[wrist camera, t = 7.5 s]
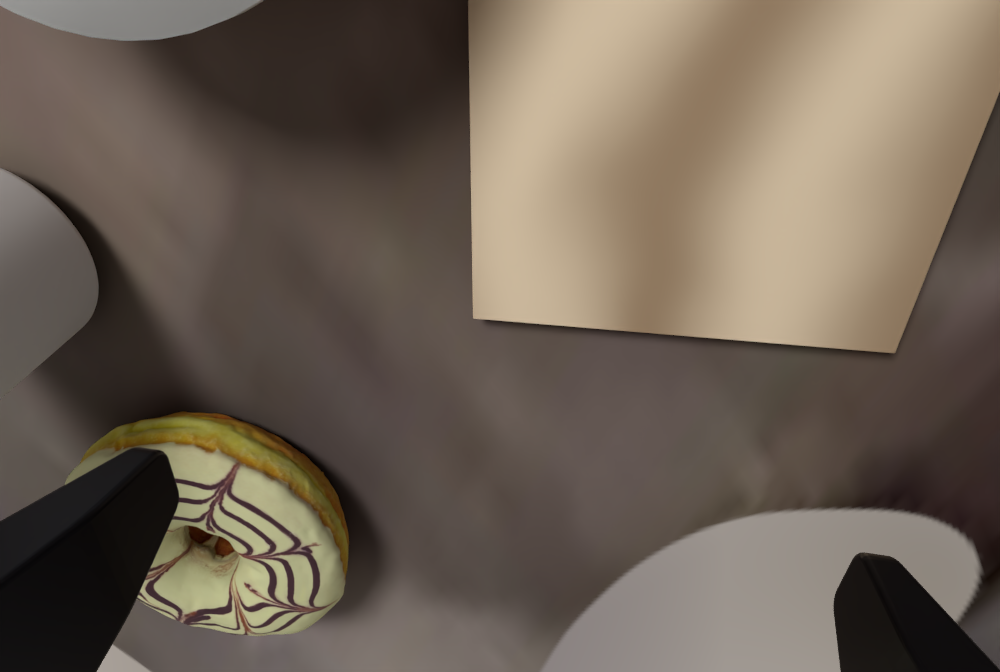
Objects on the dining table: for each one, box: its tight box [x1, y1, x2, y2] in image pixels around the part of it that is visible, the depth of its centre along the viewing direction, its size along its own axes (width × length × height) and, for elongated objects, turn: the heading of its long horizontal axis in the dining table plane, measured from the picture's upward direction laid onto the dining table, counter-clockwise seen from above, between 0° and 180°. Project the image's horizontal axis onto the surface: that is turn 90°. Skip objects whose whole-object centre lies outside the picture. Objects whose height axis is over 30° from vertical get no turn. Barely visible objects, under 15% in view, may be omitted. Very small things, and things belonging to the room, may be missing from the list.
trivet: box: [468, 0, 1000, 353], centre depth 17 cm, size 12×12×1 cm
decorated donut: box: [65, 411, 349, 636], centre depth 27 cm, size 10×11×4 cm
